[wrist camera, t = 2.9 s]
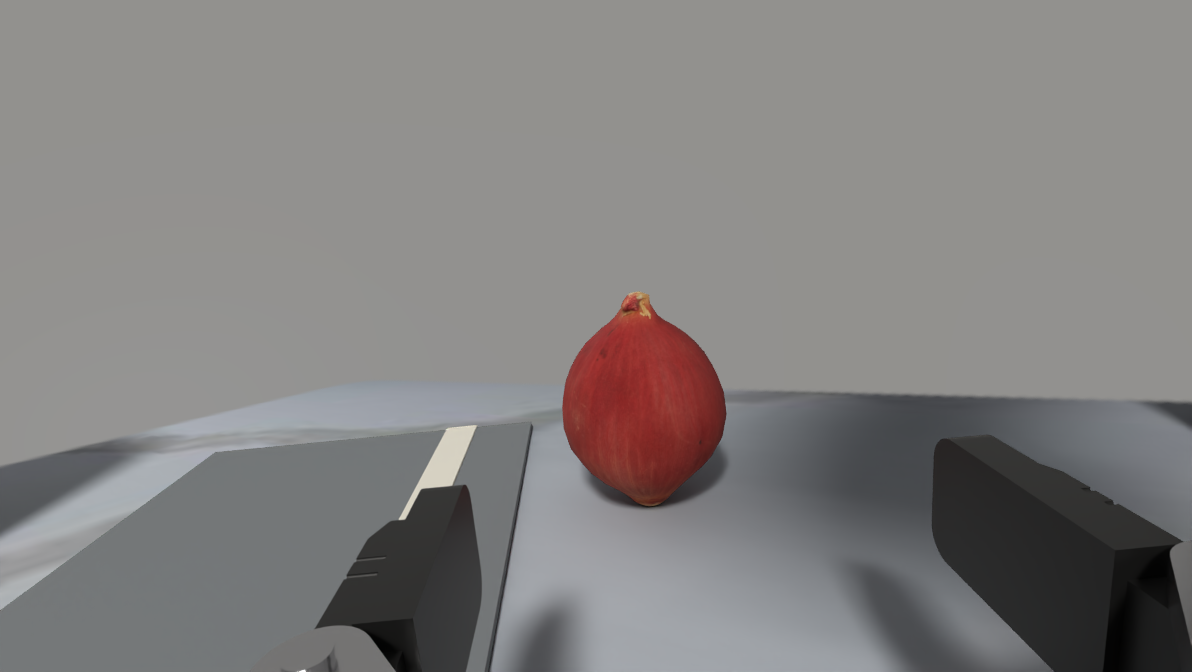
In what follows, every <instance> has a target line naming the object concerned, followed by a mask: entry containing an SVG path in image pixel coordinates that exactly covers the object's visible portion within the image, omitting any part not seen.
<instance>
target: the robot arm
mask: <svg viewBox="0 0 1192 672" xmlns="http://www.w3.org/2000/svg"><path fill="white" fill-rule="evenodd" d="M932 531H933V536H934V540H935V543H936V546H937V548H938V551H939V553H940V554H941V556H942V558H943V559H944V561H945V562H946V563H947V564H948V565H949V566H950V567H951V568H952V569H953V570H954V571H955V572H956V573H957V574H958V575H959V576H960V577H961V578H962V579H963V580H964V581H965V582H966V583H967V584H968V585H969V586H970V587H971V588H972V589H973V590H974V591H975V592H976V593H977V594H978V595H979V596H980V597H981V598H982V599H983V600H984V601H985V602H986V603H987V604H988V605H989V606H990V607H991V608H992V609H993V610H994V611H995V612H996V613H997V614H998V615H999V616H1000V617H1001V618H1002V619H1003V620H1004V621H1005V622H1006V623H1007V624H1008V625H1009V626H1010V627H1011V628H1012V629H1013V630H1014V631H1015V632H1016V633H1017V634H1018V635H1019V636H1020V637H1021V638H1022V639H1023V640H1024V641H1025V642H1026V643H1027V644H1028V645H1029V646H1030V647H1031V648H1032V649H1033V650H1034V651H1035V652H1036V653H1037V654H1038V655H1039V656H1040V657H1041V658H1042V659H1043V661H1044V662H1045V663H1046V664H1047V665H1048V666H1049V667H1050V668H1051V669H1052V670H1053V671H1054V672H1192V540H1191V541H1186V542H1183V541H1181V540H1180V539H1178V538H1176V537H1174V536H1173V535H1171V534H1169V533H1168V532H1166V531H1164V530H1162V529H1161V528H1159V527H1157V526H1156V525H1154V524H1152V523H1150V522H1149V521H1147V520H1145V519H1143V518H1142V517H1140V516H1138V515H1137V514H1135V513H1133V512H1131V511H1130V510H1128V509H1126V508H1124V507H1123V506H1121V505H1119V504H1116V505H1114V504H1113V501H1112V500H1111V499H1109V498H1107V497H1105V496H1104V495H1102V494H1100V493H1099V492H1097V491H1091V490H1090V487H1088V486H1086V485H1085V484H1083V483H1081V482H1080V481H1078V480H1076V479H1074V478H1073V477H1071V476H1069V475H1068V474H1066V473H1064V472H1062V471H1059V470H1056V469H1053V468H1050V467H1047V466H1045V465H1042V464H1039V463H1037V462H1035V461H1034V460H1032V459H1030V458H1029V457H1027V456H1025V455H1024V454H1022V453H1020V452H1018V451H1017V450H1015V449H1013V448H1012V447H1010V446H1008V445H1007V444H1005V443H1003V442H1002V441H1000V440H998V439H996V438H995V437H993V436H991V435H979V436H968V437H958V438H948V439H942V440H940V441H939V442H938V443H937V445H936V448H935V452H934V469H933V502H932ZM481 599H482V575H481V565H480V558H479V551H478V544H477V538H476V531H475V524H474V517H473V510H472V503H471V497H470V493H469V489H468V487H467V485H455V486H444V487H434V488H424V489H421V490H420V492H419V494H418V496H417V498H416V499H415V501H414V503H413V505H412V507H411V509H410V511H409V513H408V515H407V517H406V519H404V520H394V521H389V522H388V523H387V524H386V525H384V526H383V527H382V528H381V529H379V530H378V531H377V532H376V533H374V534H373V535H372V536H371V537H369V538H368V539H367V541H366V543H365V544H364V546H363V548H362V549H361V551H360V553H359V555H358V556H357V558H356V562H354V563H353V565H352V566H351V568H350V570H349V571H348V573H347V578H346V579H344V580H343V582H342V583H341V585H340V587H339V588H338V590H337V592H336V593H335V595H334V597H333V599H332V600H331V602H330V604H329V605H328V607H327V609H326V610H325V612H324V614H323V615H322V617H321V619H320V621H319V622H318V624H317V626H316V627H315V629H314V630H310V631H307V632H304V633H302V634H299V635H297V636H294V637H292V638H290V639H288V640H287V641H285V642H283V643H281V644H280V645H278V646H276V647H275V648H273V649H272V650H271V651H269V652H268V653H267V654H265V655H264V656H263V657H262V658H261V659H260V660H259V661H258V662H257V663H256V664H255V665H254V666H253V668H252V669H251V670H250V672H466V669H467V665H468V660H469V656H470V651H471V647H472V643H473V638H474V634H475V629H476V625H477V620H478V616H479V611H480V607H481Z"/></svg>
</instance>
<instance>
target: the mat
mask: <svg viewBox="0 0 1192 672" xmlns="http://www.w3.org/2000/svg"><path fill="white" fill-rule="evenodd" d="M531 430H532V424H531V422H524V423H513V424H503V425H493V426H482V427H477V425H473V426H463V427H453V428H447V430H441V431H431V432H420V433H410V434H400V435H389V436H379V437H369V438H358V439H348V440H338V441H327V442H317V443H307V444H296V445H286V446H276V447H265V448H255V449H245V450H234V451H224V452H215V453H214V454H212V455H211V456H210V457H208V458H207V459H206V460H204V461H203V462H201V463H200V464H199V465H197V466H196V467H195V468H193V469H192V470H191V471H189V472H188V473H186V474H185V475H184V476H182V477H181V478H180V479H178V480H177V481H176V482H174V483H173V484H171V485H170V486H169V487H167V488H166V489H165V490H163V491H162V492H161V493H159V494H158V495H157V496H155V497H154V498H152V499H151V500H150V501H148V502H147V503H146V504H144V505H143V506H142V507H140V508H139V509H137V510H136V511H135V512H133V513H132V514H131V515H129V516H128V517H127V518H125V519H124V520H122V521H121V522H120V523H118V524H117V525H116V526H114V527H113V528H112V529H110V530H109V531H108V532H106V533H105V534H103V535H102V536H101V537H99V538H98V539H97V540H95V541H94V542H93V543H91V544H90V545H88V546H87V547H86V548H84V549H83V550H82V551H80V552H79V553H78V554H76V555H75V556H73V557H72V558H71V559H69V560H68V561H67V562H65V563H64V564H63V565H61V566H60V567H59V568H57V569H56V570H54V571H53V572H52V573H50V574H49V575H48V576H46V577H45V578H44V579H42V580H41V581H39V582H38V583H37V584H35V585H34V586H33V587H31V588H30V589H29V590H27V591H26V592H24V593H23V594H22V595H20V596H19V597H18V598H16V599H15V600H14V601H12V602H11V603H10V604H8V605H7V606H5V607H4V608H3V609H1V610H0V672H250V670H251V669H252V668H253V666H254V665H255V664H256V663H257V662H258V661H259V660H260V659H261V658H262V657H263V656H264V655H265V654H267V653H268V652H269V651H271V650H272V649H273V648H275V647H276V646H278V645H280V644H281V643H283V642H285V641H287V640H288V639H290V638H292V637H294V636H297V635H299V634H302V633H304V632H307V631H310V630H314V629H315V627H316V626H317V624H318V622H319V621H320V619H321V617H322V615H323V614H324V612H325V610H326V609H327V607H328V605H329V604H330V602H331V600H332V599H333V597H334V595H335V593H336V592H337V590H338V588H339V587H340V585H341V583H342V582H343V580H344V579H346V578H347V573H348V571H349V570H350V568H351V566H352V565H353V563H354V562H356V558H357V556H358V555H359V553H360V551H361V549H362V548H363V546H364V544H365V543H366V541H367V539H368V538H369V537H371V536H372V535H373V534H374V533H376V532H377V531H378V530H379V529H381V528H382V527H383V526H384V525H386V524H387V523H388V522H389V521H394V520H404V519H406V517H407V515H408V513H409V511H410V509H411V507H412V505H413V503H414V501H415V499H416V498H417V496H418V494H419V492H420V490H421V489H424V488H434V487H444V486H455V485H467V487H468V489H469V493H470V497H471V503H472V510H473V517H474V524H475V531H476V538H477V544H478V551H479V558H480V565H481V575H482V599H481V607H480V611H479V616H478V620H477V625H476V629H475V634H474V638H473V643H472V647H471V651H470V656H469V660H468V665H467V669H466V672H488V669H489V663H490V658H491V652H492V647H493V641H494V636H495V630H496V624H497V619H498V613H499V608H500V602H501V597H502V591H503V585H504V580H505V574H506V569H507V563H508V558H509V552H510V546H511V541H512V535H513V530H514V524H515V519H516V513H517V507H518V502H519V496H520V491H521V485H522V480H523V474H524V468H525V463H526V457H527V452H528V446H529V441H530V435H531Z"/></svg>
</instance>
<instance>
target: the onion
mask: <svg viewBox="0 0 1192 672" xmlns="http://www.w3.org/2000/svg"><path fill="white" fill-rule="evenodd" d="M562 408H563V423H564V430H565V433H566V436H567V439H568V442H569V445H570V448H571V450H572V451H573V452H574V453H575V455H576V456H577V457H578V458H579V460H580V461H581V462H582V463H583V465H584V466H585V467H586V468H587V469H588V470H589V471H590V472H591V473H592V474H593V475H594V476H596V477H597V478H598V479H600V480H601V481H603V482H604V483H605V484H607V485H609V486H611V487H613V488H615V489H617V490H619V491H621V492H622V493H624V494H626V495H628V496H629V497H630V498H631V499H633V500H634V501H635V502H637V503H639V504H642V505H645V506H655V505H658V504H661V503H662V502H663V501H665V500H666V499H668V497H669V496H670V495H671V494H672V493H673V492H674V491H675V490H676V489H677V488H679V487H680V486H681V485H682V484H683V483H684V482H685V481H686V480H687V479H688V478H690V477H691V476H692V475H693V474H694V473H695V472H696V471H697V470H699V469H700V468H701V467H702V466H703V465H704V464H705V463H706V462H707V461H708V459H709V458H710V457H711V456H712V454H713V452H714V450H715V449H716V447H717V445H718V443H719V442H720V440H721V438H722V436H723V430H724V425H725V420H726V406H725V398H724V392H723V389H722V386H721V384H720V381H719V379H718V376H717V374H716V372H715V370H714V368H713V366H712V364H711V362H710V361H709V359H708V357H707V356H706V354H705V352H704V351H703V350H702V349H701V348H700V347H699V345H698V344H697V343H696V342H695V341H694V340H693V339H692V338H690V337H689V336H688V335H687V334H686V333H685V332H683V331H682V330H680V329H678V328H677V327H676V326H674V325H672V324H670V323H669V322H667V321H665V320H663V319H662V318H661V317H659V316H658V315H657V314H656V312H655V311H654V309H653V308H652V306H651V304H650V301H649V295H648V294H644V293H641V292H634V293H630V294H628V295H627V297H626V298H625V299H624V301H623V303H622V305H621V309H620V310H619V312H618V313H617V315H616V316H615V317H614V318H613V319H612V320H611V321H610V322H609V323H608V324H607V325H605V326H604V327H603V328H601V329H600V330H599V331H598V332H597V333H596V334H595V335H594V336H593V337H592V338H591V339H590V340H589V341H588V342H586V343H585V345H584V346H583V348H582V349H581V351H580V352H579V354H578V355H577V357H576V359H575V360H574V362H573V364H572V366H571V369H570V371H569V374H568V376H567V379H566V383H565V389H564V396H563V407H562Z"/></svg>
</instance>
